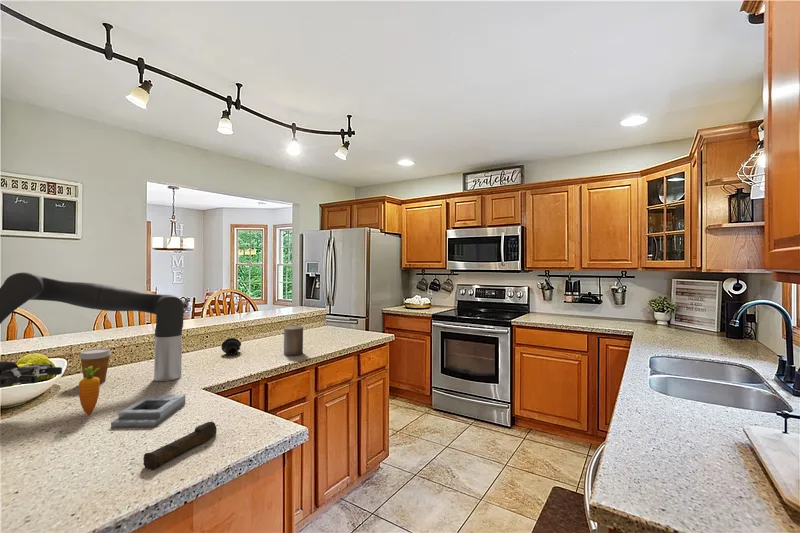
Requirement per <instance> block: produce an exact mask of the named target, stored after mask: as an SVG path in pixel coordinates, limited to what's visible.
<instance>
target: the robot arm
mask: <svg viewBox="0 0 800 533" xmlns="http://www.w3.org/2000/svg"><path fill="white" fill-rule="evenodd" d="M28 301H46V302H47V301H50V302H60V303H65V304H67V305H73V306H76V307H79V308H80V307H81V308H85V309H90V310H100V311H105V312H107V311H108V312H140V313H141V312H143V313H147V314H152V315H155V319H156V320H155V329H154V355H153V356H154V357H153V358H154V361H153V362H154V363H153V364H154V365H153V366H154V367H153V368H154V369H153V380H154V381H156V382H169V381H174V380H178V379H180V378H181V377H182V363H183V362H182V357H183V353H182V348H183V347H182V343H183V342H182V341H183V340H182V337H183V328H184V312H185V311H184V310H185V309H184V307H185V306H184V302H183V301H182V299H181V298H179V297H178V296H176V295H173V294H162V293H160V294H158V293H148V292H147V293H145V292H141V291H137V290H136V291H135V290H133V289H128V288H124V287H119V286H115V285H110V284H109V285H107V284H102V283H94V282H79V281H77V282H76V281H65V280H58V279H54V278H49V277H46V276H43V275H42V276H41V275H38V274H36V273H32V272H24V271H22V272H16V273H13V274H10V275H9V276H8V277H7V278H5V280H4V282H3V284H2V285H1V286H0V325H2V323H3V322H4V321H5V320H6V319H7V318H8V317H9V316H10V315H11V314H12V313H14V312H15V310H17V309H18V308H20V307H21V306H23V305H24V304H25V303H27V302H28ZM62 374H63V367H62V366H54V365H53V364H44V363H43V364H42V363H41V364H40V363H39V364H37V363H33V364H30V366H27V365H22V366H18V364H17V363H15V362H14V361H6V360H3V361H2V360H0V388H7V387H9V388H10V387H12V386H13V385H22V384H37V383H38V378H39V377H40V376H48V375H49V376H50V375H51V376H53V375H54V376H55V375H56V376H59V375H62Z"/></svg>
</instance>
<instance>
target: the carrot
mask: <svg viewBox="0 0 800 533" xmlns="http://www.w3.org/2000/svg"><path fill="white" fill-rule="evenodd" d="M92 369H93V366H90V367H88V368H85V369H84V371H85V373H86V375H87V378H82V379H81V380H79V384H78V394H79V395H78V396H79V397H78V398H79V402H80V405H81V408H82V409H83V411H84V413H85V414H86V415H87V416H90V415H91V414H92V413H93V411H94V410H95V409H96V408H95V407H96V406H97V403H98V401H99V400H98V399H99V395H100V386H101V383H100V379H99V378H98V377H93V375H94V374H95V372H96V371H98V370H99V369H100V368H97V369H95V370H94V372H93V371H92Z"/></svg>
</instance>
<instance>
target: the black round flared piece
mask: <svg viewBox="0 0 800 533" xmlns="http://www.w3.org/2000/svg"><path fill="white" fill-rule="evenodd" d="M241 345H242V342H241V341H240V340H239V339H238V338H235V337H230V338H227V339H225V340H224V341H222V343H221V350H222V352H223V353H225V354H226V355H229V356H233V355H236V354H237V353H238V352H239V351H240V350H241Z"/></svg>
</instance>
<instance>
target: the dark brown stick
mask: <svg viewBox="0 0 800 533" xmlns="http://www.w3.org/2000/svg"><path fill="white" fill-rule="evenodd" d="M216 435H217V426H216V423H215V422H213V421H208V422H205V423H203V424H200V425H198V426H196V427H195V428H194V430H193V431H192V432H191V433H189V434H187V435H185V436H183V437H180V438H178V439H176V440H174V441H172V442H170V443H167V444H165V445H164V446H161V447H160V448H157V449H155V450H152V451H151V452H146V453H144V454H143V458H142V459H143V466H144V468H145V469H147V470H149V471H154V470H155V469H156V468H157V467H161V466H162V465H163V463H164V464H165V463H166V462H167V461H170V460H171V459H173V458H175V457H177V456H178V455H182V454H183V453H184V452H187V451H188V450H189V449H192V448H194V447H196V446H201V445H202V446H203V445H204V444H206V443H207V442H209V441H210V440H212V439H213V438H214V437H215V436H216Z"/></svg>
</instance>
